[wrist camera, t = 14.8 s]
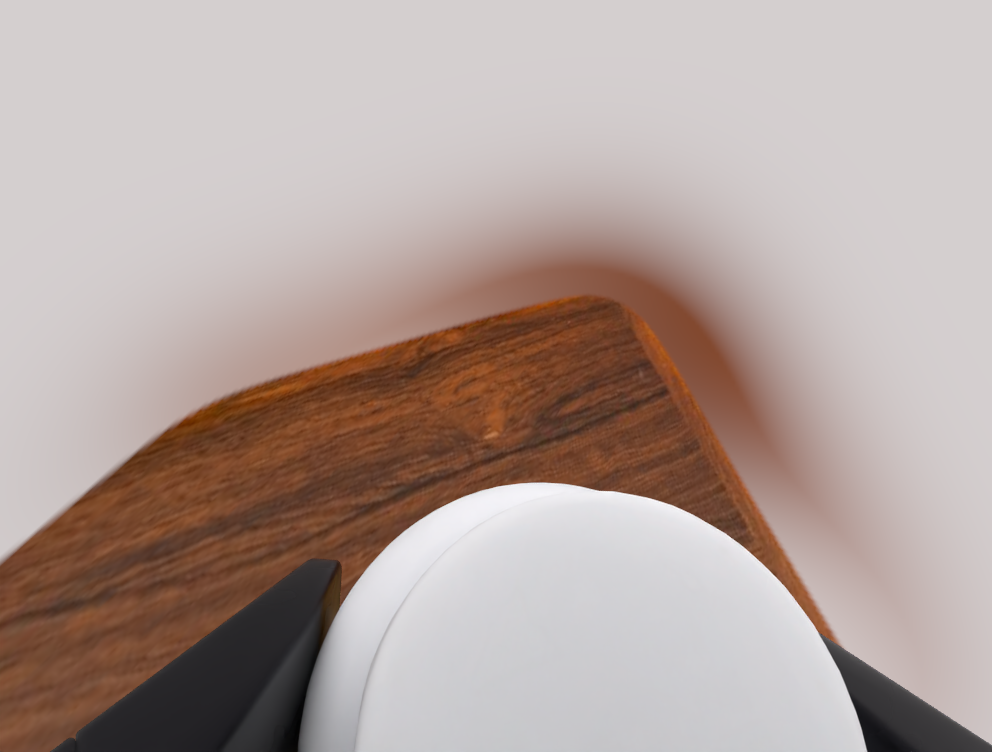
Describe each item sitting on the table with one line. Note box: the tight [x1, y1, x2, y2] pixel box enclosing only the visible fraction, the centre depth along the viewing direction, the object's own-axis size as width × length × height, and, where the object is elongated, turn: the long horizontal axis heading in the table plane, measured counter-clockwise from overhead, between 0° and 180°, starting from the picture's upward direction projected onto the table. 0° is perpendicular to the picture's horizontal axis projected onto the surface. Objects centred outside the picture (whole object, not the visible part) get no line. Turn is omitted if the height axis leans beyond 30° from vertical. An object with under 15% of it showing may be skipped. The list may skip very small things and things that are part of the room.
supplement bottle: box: [298, 483, 867, 752], centre depth 9 cm, size 6×6×10 cm
